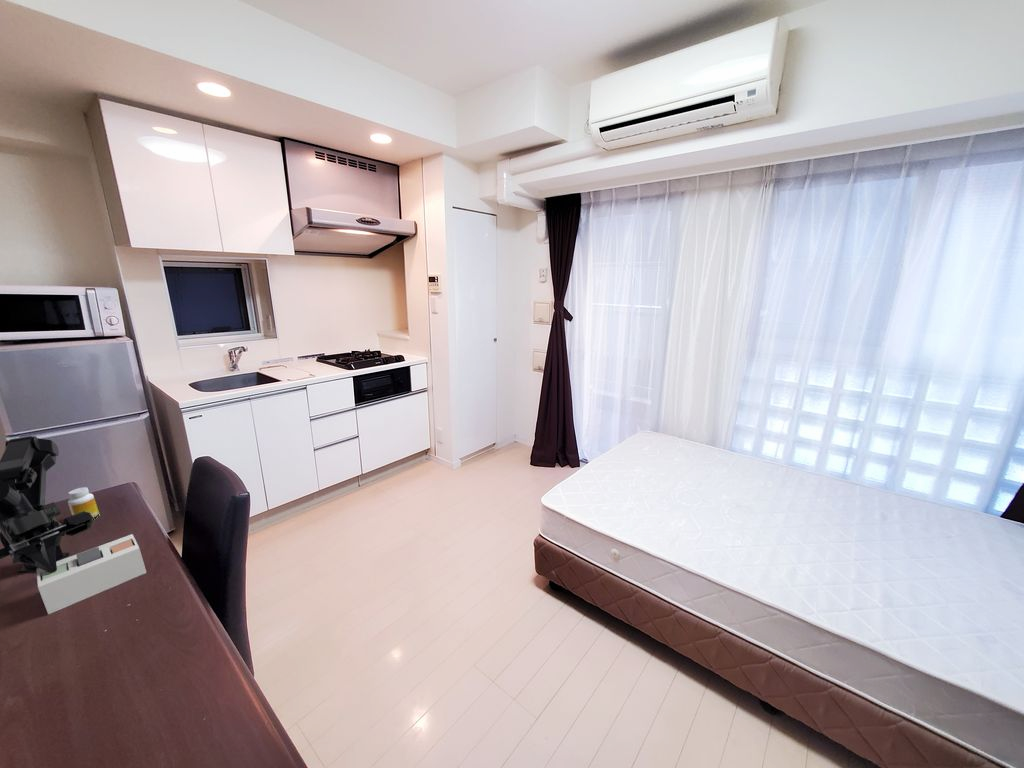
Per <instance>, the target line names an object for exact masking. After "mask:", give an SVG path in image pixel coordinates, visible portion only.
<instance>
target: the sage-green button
mask: <svg viewBox="0 0 1024 768" xmlns="http://www.w3.org/2000/svg"><path fill="white" fill-rule="evenodd" d="M66 571H68V569H67V566H66V564H65V565H63V566H60V567H57V571H55V572H53V573H50V572H47V571H46V572H44V573H42V578H43V580H45V579H47V578H50V577H52V576H55V575H58V574H60V573H63V572H66Z"/></svg>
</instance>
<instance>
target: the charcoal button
mask: <svg viewBox="0 0 1024 768" xmlns="http://www.w3.org/2000/svg"><path fill="white" fill-rule="evenodd" d="M87 550H88V551H87ZM87 550H85V552H84V551H82V553H81V552H78V553H76V554H77V555H76V554H75V555H76V556H77V560H78V563H79V566H81V565H84V564H87V563H89V562H92V561H95V560H97V559H100V558H102V557H101V553H100V550H99V547H98V546H96V548H95V547H92V548H90V549H87Z"/></svg>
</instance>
